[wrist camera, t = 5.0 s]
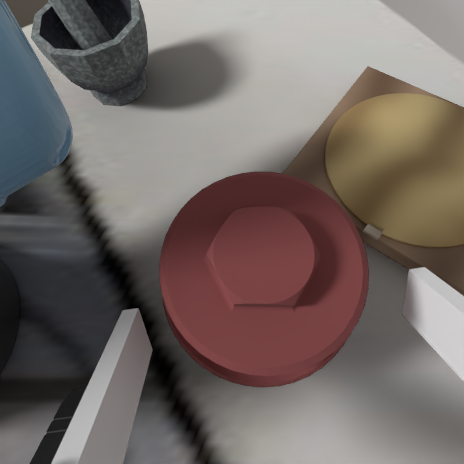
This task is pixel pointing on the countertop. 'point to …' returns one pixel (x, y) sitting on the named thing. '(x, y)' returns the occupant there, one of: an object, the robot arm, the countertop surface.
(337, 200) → the marked board
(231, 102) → the countertop surface
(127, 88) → the mortar and pestle
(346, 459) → the countertop surface
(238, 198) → the mechanical component
